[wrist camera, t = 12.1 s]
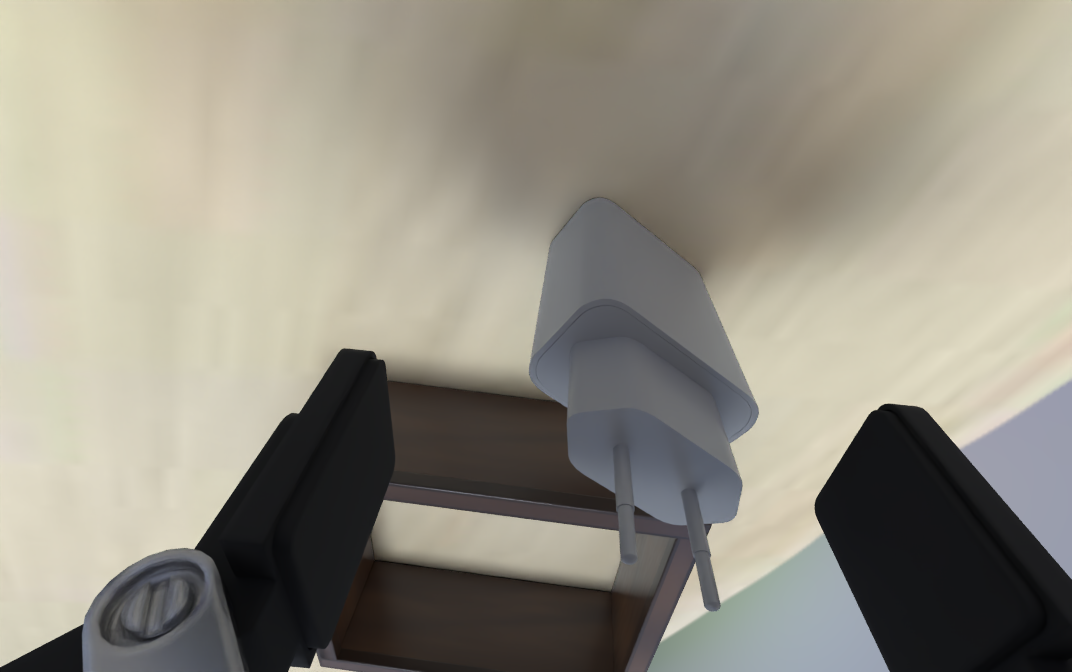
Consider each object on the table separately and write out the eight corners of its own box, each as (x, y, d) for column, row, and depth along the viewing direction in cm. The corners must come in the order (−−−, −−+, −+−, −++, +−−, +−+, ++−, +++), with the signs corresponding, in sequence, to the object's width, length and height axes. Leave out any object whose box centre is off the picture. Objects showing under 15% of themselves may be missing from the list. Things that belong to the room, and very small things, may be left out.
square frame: (326, 370, 22) (256, 465, 17) (686, 415, 21) (712, 525, 17) (361, 566, 30) (320, 667, 25) (623, 602, 30) (630, 710, 25)
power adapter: (650, 337, 19) (717, 679, 9) (539, 255, 18) (478, 557, 8) (711, 281, 18) (867, 617, 8) (596, 188, 17) (608, 453, 6)
